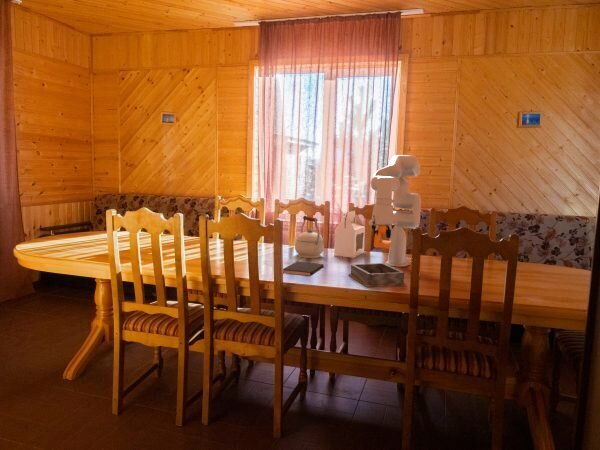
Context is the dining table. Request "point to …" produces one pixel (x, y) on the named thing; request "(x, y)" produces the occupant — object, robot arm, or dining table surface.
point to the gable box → (349, 236)
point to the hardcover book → (303, 268)
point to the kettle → (309, 241)
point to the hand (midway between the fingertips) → (382, 237)
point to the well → (377, 275)
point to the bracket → (378, 238)
